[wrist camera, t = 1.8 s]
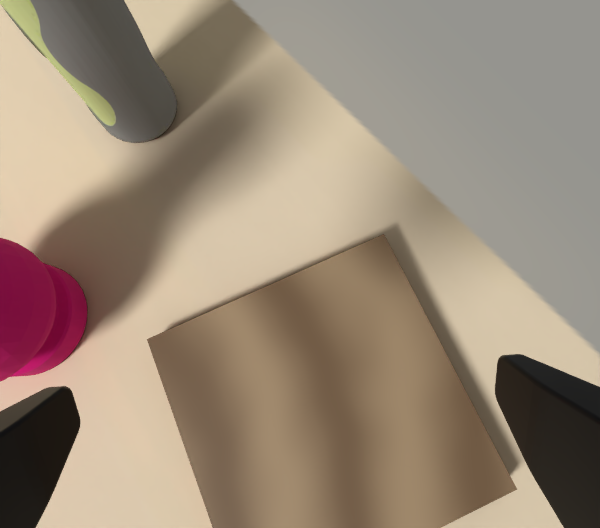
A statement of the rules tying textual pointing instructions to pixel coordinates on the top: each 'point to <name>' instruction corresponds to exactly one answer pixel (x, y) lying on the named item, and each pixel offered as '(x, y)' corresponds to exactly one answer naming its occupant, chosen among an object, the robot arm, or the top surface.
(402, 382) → the taupe cutting board
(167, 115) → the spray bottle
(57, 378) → the top surface
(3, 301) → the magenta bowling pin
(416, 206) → the top surface
